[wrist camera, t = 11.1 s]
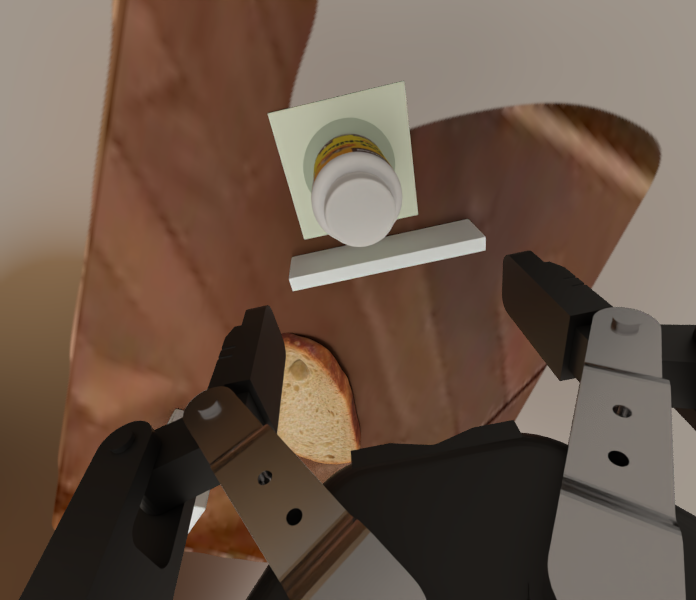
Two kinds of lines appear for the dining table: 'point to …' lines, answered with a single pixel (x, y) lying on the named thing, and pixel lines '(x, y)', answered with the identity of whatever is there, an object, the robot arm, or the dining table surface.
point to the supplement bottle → (355, 191)
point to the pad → (337, 119)
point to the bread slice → (316, 404)
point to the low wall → (386, 254)
